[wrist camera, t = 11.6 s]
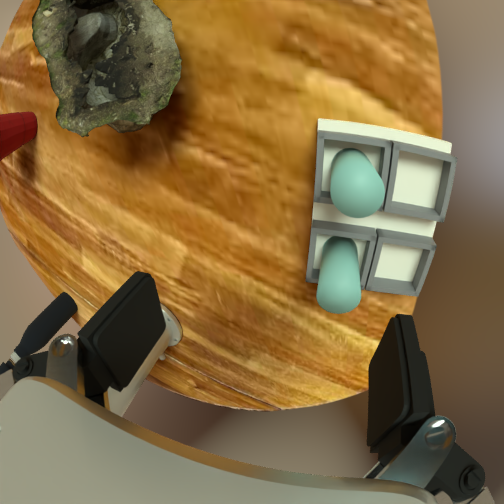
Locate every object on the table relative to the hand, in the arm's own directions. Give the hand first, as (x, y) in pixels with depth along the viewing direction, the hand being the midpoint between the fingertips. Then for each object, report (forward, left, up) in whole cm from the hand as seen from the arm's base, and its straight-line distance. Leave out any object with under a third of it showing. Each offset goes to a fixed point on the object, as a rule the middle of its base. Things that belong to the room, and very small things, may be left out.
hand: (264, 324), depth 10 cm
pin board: (-3, -7, -21) cm, 23 cm away
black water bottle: (-34, +58, -22) cm, 70 cm away
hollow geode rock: (+19, +21, -22) cm, 36 cm away
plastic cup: (+11, +51, -22) cm, 56 cm away
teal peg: (+2, -4, -20) cm, 20 cm away
